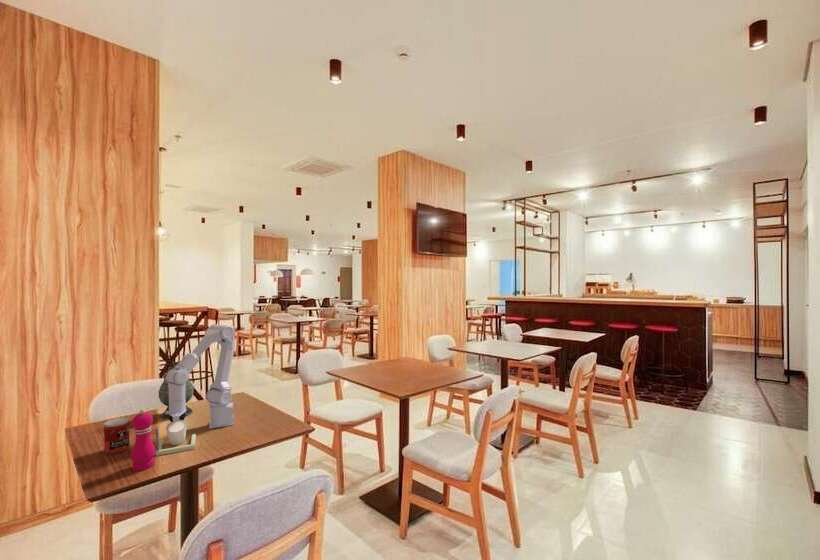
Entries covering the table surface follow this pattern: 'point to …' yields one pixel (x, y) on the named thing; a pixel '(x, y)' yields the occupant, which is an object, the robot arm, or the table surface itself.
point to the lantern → (165, 394)
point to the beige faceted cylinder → (176, 432)
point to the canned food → (116, 435)
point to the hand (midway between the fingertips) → (177, 433)
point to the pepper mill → (142, 442)
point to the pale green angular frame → (171, 450)
